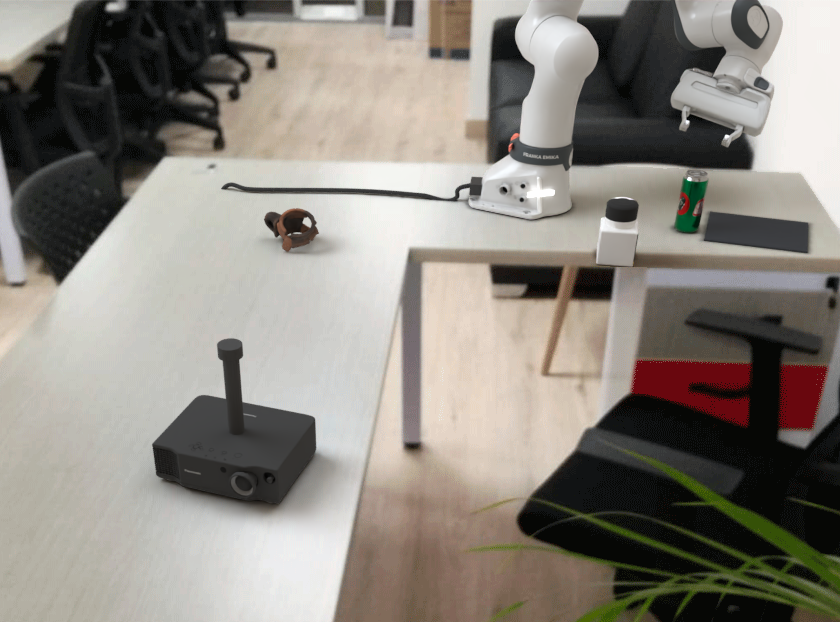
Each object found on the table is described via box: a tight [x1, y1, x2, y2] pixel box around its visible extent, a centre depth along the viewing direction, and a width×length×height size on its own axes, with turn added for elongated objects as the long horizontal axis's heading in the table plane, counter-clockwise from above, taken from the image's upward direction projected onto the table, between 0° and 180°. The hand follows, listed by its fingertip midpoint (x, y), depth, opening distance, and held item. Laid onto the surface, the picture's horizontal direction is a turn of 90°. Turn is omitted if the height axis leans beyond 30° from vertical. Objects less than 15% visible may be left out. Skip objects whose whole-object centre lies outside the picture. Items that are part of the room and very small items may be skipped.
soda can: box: [674, 168, 709, 234], centre depth 222 cm, size 5×5×12 cm
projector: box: [151, 337, 317, 505], centre depth 150 cm, size 19×17×20 cm
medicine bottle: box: [595, 196, 640, 268], centre depth 210 cm, size 7×7×12 cm
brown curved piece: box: [263, 207, 320, 253], centre depth 220 cm, size 12×10×8 cm
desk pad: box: [703, 211, 809, 254], centre depth 224 cm, size 20×16×1 cm
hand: (703, 137), depth 226 cm, fingers open, 8 cm apart
